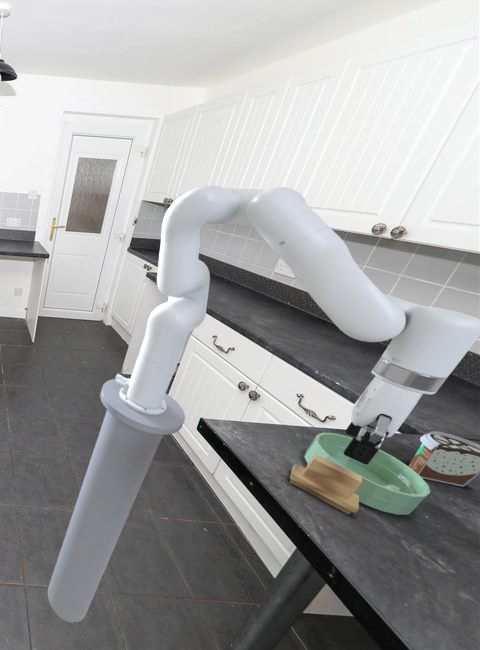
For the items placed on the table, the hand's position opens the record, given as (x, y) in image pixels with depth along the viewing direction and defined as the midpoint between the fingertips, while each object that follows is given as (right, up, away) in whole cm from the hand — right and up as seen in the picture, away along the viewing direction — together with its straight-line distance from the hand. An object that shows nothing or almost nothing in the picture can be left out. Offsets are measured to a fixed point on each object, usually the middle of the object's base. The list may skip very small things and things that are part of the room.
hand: (355, 447), depth 66 cm
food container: (+34, -12, +15) cm, 39 cm away
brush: (-1, -12, +5) cm, 13 cm away
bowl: (+11, -12, +10) cm, 18 cm away
